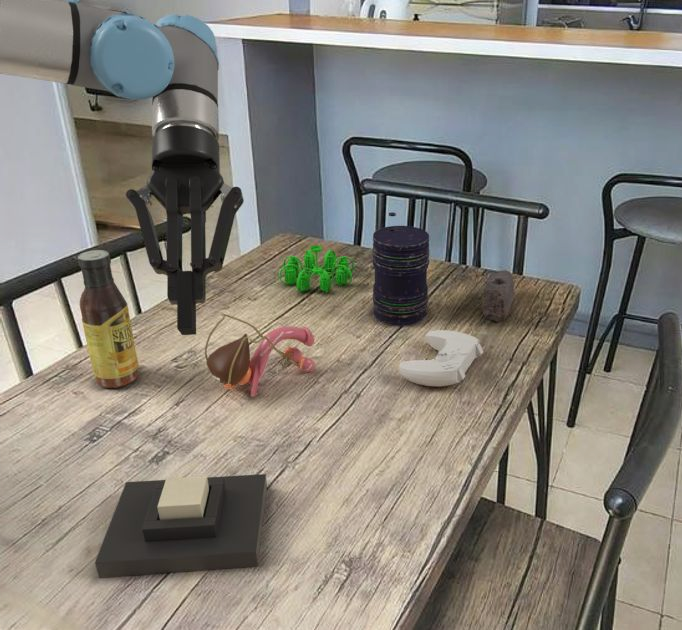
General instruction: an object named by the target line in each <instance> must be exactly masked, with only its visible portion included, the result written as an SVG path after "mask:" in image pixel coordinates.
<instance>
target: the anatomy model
mask: <svg viewBox="0 0 682 630" xmlns="http://www.w3.org/2000/svg"><path fill="white" fill-rule="evenodd" d="M220 316H221V317H222V318H221V319H220V320H219V321H217V323H216V324H214V325H215V326H214V327H213V328H212V330H211V331H210V333H209V334H208V337H207V339H206V342H205V347H204V357H205V360H206V366H207V368H208V371H209V374H210V375H211V376H212V377H213V379H215V380H217V381H218V382H219V383H221V384H223V388H224V389H227V390H233V388H234V387H235V386H236V385H237V384H238V385H239V386H243V385H246V384H247V383H248V384H249V385H250V386H251V389H250V397H251V398H253V397H256V396H257V394H258V389H259V388H258V387H259V383H260V381H261V379H262V378H263V376H264V374H265V371H266V368H267V365H268V362H269V358H270V355H271V352H272V351H273V350H274V351H275V352H277V353H278V355H280V356H281V359H279V360H278V361H277V363H278V364H280V365H281V367H282V368H285V367H286V365H287V364H288V363H291V364H292V365H294V366H296V367H297V368H298V369H299V370H301V371H304V372H307V373H309V372H310V373H311V372H313V371H314V370H315V367H316V364H315V362H314V360H313V359H311V358H310V357H307V356H306V357H304V356H303V352H302V350H300V349H299V348H298V347H295V346H288V347H286V348H285V350H284V352H283V351H281V350H279V349H278V348H277V347H276V346H277V345H278V344H279V343H280V342H281V341H283V340H293V341H298V342H299V343H301V344H303V345H305V346H307V347H312V346H313V345H314V344H315V340H316V339H315V336H314V335H313V333H312V331H310V329H309V328H308V327H307V326H301V327H296V326H291V325H287V326H281V327H277V328H275V329H272V330H271V331H269V332H268V333H267V334H266V335H263V334H262V333H261V332H260V331H259V330H258V329H257V328H256V326H255V325H253V324H251V323H250V322H248V321H246V320H243V319H240V318H237V317H236V316H233V315H230V314H226V313H220ZM226 317H228V318H230V319H233V320H236V321H238V322H240V323H243V324H245V325H247V326H249V327H251V328H252V329H253V330H254V331H255V332H256V333H257V334H258V335H259V336H260V338H259V339H258V340H254V339H252V338H251V337H250V336H248V334H247V333H244V334H243V335H242V336H241V337H239V338H238V339H235V340H233V341H231V342H229V343H226V344H224V345H221V346H220V347H218V348H217V349H216V350H214V351H213V352H212V353H210V354H209V355H208V345H209V342H210V339H211V337H212V335H213V333H214V331H216V329H217V328H218V326H219V325H220V323H222V322H223V321H224V320H225V319H226ZM250 342H252V343H253V344H259V345H258V346H257V347H256V349H255V350H254V352H253V354H252V355H251V350H250Z"/></svg>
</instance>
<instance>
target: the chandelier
mask: <svg viewBox="0 0 682 630" xmlns="http://www.w3.org/2000/svg"><path fill="white" fill-rule="evenodd" d="M322 251H323V247H322V246H321V245H311V246H310V248H309V249H307V250H305V253H304V257H303V262H304V265H303V262H302V261H301V259H300V258H299V257H297V256H295V255H288V256H287V257H285V258H284V259H283V261H282V267H281V268H280V270H279V273H278V278H279V280H280V282H281V283H282V284H283V285H286V286H293V285H296V289H297V291H298V292H299V293H301V294H302V293H305V292H306V291H308V290H310V285H311V277H312V276H313V275H319V279H318V280H319V289H320V290H321V291H323V292H324V293H325V294H326V293H330V290H331V289H332V280H333V281H334V283H335V284H337V285H339V286H341V287H346V286H348V285H349V284H350V283H351V282H352V280H353V271H354V269H355V263H354V261H353V260H352V258H350V257H348V256H346V255H345V256H344V255H343V256H338V258H337V255H336V252H335V251H334V250H332V249H329V250H328V251H327V252H326V253H325V255H324V258H323V265H321V266H320V267H319V260H318V259H319V258H318V253H320V252H322ZM287 259H288V260H287ZM286 261H287V264H286ZM349 261H350V262H351V269H350V264H349ZM337 262H338V263H337ZM299 265H300V266H299ZM283 271H284V273H283V274H284V281H285V282H284V281H283V279H282V277H281V275H282V272H283ZM310 273H311V274H310ZM348 276H349V281H348Z"/></svg>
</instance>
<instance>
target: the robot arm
mask: <svg viewBox="0 0 682 630" xmlns="http://www.w3.org/2000/svg"><path fill="white" fill-rule="evenodd" d="M218 56H219V55H218V47H217V41H216V36H215V34H214V32H213V30H212V29H211V27H210V26H209V25H208V24H206V22H204V21H203V20H201V19H200V18H198V17H195V16H193V15H190V14H185V15H178V14H177V13H171V14H167V15H165V16H163V17H161V18H159V19H158V20H157V21H156V23H154V24H153V23H152V22H151V21H149V20H147V19H146V18H145V17H143V16H139V15H137V14H130V13H126V12H123V11H121V10H120V11H119V10H117V9H114V8H111V7H108V6H106V5H103V4H100V3H97V2H95V1H92V0H0V74H1V75H5V76H6V75H7V76H13V77H20V78H26V79H33V80H39V81H45V82H51V83H59V84H65V85H71V86H75V87H80V88H87V89H91V90H92V89H93V90H100V91H105V92H109V93H110V94H113V95H115V96H116V97H119V98H121V99H128V100H134V101H142V100H143V101H144V100H148V99H152V101H151V104H152V115H151V116H152V117H151V118H152V119H151V121H152V122H151V134H152V138H151V170H150V174H149V175H148V176H147V180H146V185H144V186H142V187H140V188H139V189H137V190H136V189H131V188H130V189H128V190H127V191H126V193H125V197H126V198H127V201H128V202H129V203H130V205H131V206H132V209H134V210H135V213H136V217H137V220H138V225H139V228H140V232H141V235H142V240H143V243H144V248H145V252H146V256H147V258H148V263H149V265H150V266H151V268H152V269H153V271H154V273H155V274H157V275H164V276H166V277H167V282H166V283H167V287H166V288H167V289H166V290H167V291H166V293H167V295H166V296H167V299H168V302H170V304H171V306H174V305H175V306H176V312H177V314H176V315H177V316H176V320H177V321H176V328H177V330H178V332H179V333H180V334H181V335H182V336H193V335H194V336H195V335H197V304H199V305H200V304H205V302H206V300H207V298H206V297H207V293H206V292H207V291H206V290H207V289H206V288H207V287H206V285H207V283H206V279H207V276H208V275H209V274H211V273H214V272H215V273H218V272H221V270H222V269H223V265H224V261H225V257H226V253H227V249H228V246H229V241H230V237H231V233H232V229H233V225H234V221H235V217H236V214H237V212H238V211H239V210H240V209H241V207H242V206H243V204H244V202H245V201H244V196H243V191H242V189H241V188H240V187H239V186H233V187H232V186H231V185H228V184H227V183H225V181H224V178H223V176H222V174H221V166H220V164H221V162H220V159H221V157H220V143H219V140H220V123H219V121H220V120H219V117H220V116H219V67H220V62H219V57H218ZM152 197H154V198H155V199H156V200H157V202H159V204H160V205H161V206H162V208H163V209H164V210H165V212H166V213H165V214H166V259H164V256H163V254H162V249H161V245H160V242H159V238H158V235H157V231H156V227H155V224H154V220H153V216H152V214H151V212H150V208H151V207H152V204H153V203H152ZM219 197H220V202H221V206H220V209H219V213H218V217H217V221H216V225H215V229H214V233H213V236H212V241H211V245H210V249H209V253H208V257H207V250H206V248H207V247H206V246H207V245H206V243H207V240H206V223H207V211H208V210H210V208H211V207H212V205H213V204H214V203H215V202H216V200H217V199H218V198H219ZM184 215H190V263H189V265H190V267H191V270H183V224H184Z"/></svg>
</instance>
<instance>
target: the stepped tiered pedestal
mask: <svg viewBox="0 0 682 630" xmlns="http://www.w3.org/2000/svg"><path fill="white" fill-rule="evenodd" d="M207 479H208V485H209V493H208V497H207V502H206V506H205V511H204V515H203V518H187V519H172V520H160V517H159V512H158V507H157V506H158V503H159V500H160V497H161V494H162V490H163V487H164V484H165V481H166V479H155V480H141V481H140V480H139V481H126V482H125V483H124V485H123V489H122V491H121V494H120V496H119V499H118V501H117V504H116V507H115V510H114V512H113V514H112V517H111V520H110V522H109V525H108V528H107V530H106V533H105V535H104V538H103V540H102V544H101V545H100V548H99V551H98V553H97V556H96V559H95V560H94V565H95V569H96V573H97V576H98V578H99V579H100V578H111V577H112V578H115V577H126V576H128V577H129V576H141V575H142V576H143V575H155V574H156V575H157V574H167V573H168V574H170V573H171V574H172V573H183V572H197V571H208V570H209V571H211V570H212V571H213V570H225V569H237V568H239V569H240V568H251V567H258V566H259V560H260V552H261V543H262V535H263V526H264V520H265V510H266V502H267V494H268V493H267V492H268V481H267V474H266V473H262V474H261V473H259V474H245V475H244V474H243V475H241V474H240V475H224V476H207Z"/></svg>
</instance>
